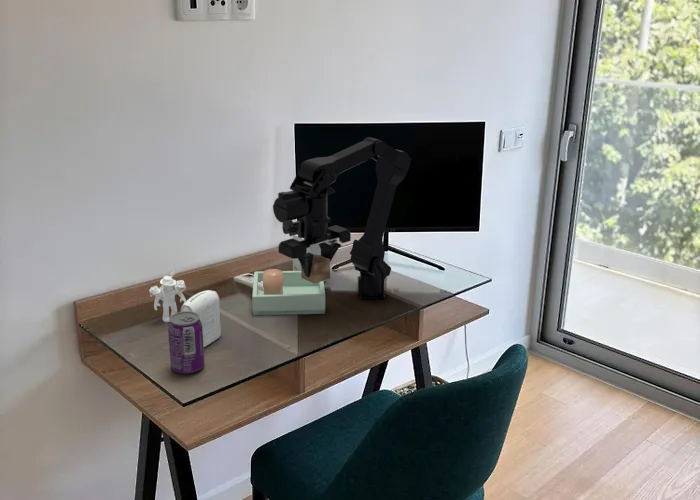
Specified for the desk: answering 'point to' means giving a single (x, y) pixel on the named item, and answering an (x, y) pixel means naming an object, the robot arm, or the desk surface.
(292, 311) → the tote
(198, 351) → the beverage can
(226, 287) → the desk surface
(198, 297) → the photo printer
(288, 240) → the robot arm
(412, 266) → the desk surface
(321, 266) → the walnut block
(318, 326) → the desk surface
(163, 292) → the flower shoulder figurine
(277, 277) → the terracotta cylinder
